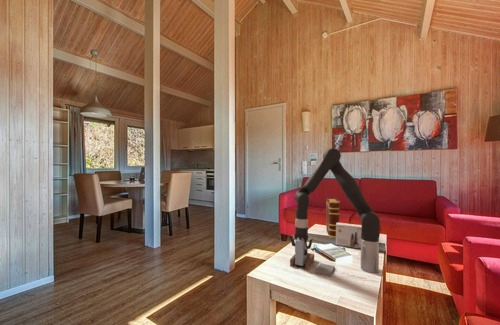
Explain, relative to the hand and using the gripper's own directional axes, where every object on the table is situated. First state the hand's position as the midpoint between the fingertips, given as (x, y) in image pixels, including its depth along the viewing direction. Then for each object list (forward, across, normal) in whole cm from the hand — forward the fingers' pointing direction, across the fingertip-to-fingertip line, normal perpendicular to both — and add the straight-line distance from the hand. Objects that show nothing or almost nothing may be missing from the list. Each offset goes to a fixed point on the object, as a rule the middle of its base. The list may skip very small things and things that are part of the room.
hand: (301, 254), depth 138 cm
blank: (+5, 0, 0) cm, 5 cm away
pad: (+6, -14, 0) cm, 15 cm away
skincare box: (+7, -23, -50) cm, 55 cm away
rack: (+6, 0, -2) cm, 7 cm away
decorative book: (+7, -5, -74) cm, 74 cm away
